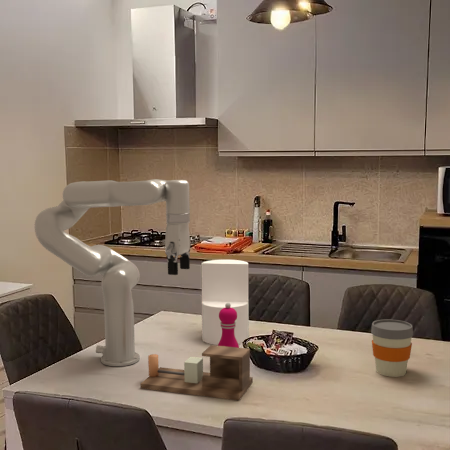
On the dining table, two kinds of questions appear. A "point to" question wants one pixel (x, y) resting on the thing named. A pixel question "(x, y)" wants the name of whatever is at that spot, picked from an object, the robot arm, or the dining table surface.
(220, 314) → the pepper mill
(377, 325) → the reusable coffee cup
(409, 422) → the dining table surface
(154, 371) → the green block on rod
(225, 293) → the cylinder
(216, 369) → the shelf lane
